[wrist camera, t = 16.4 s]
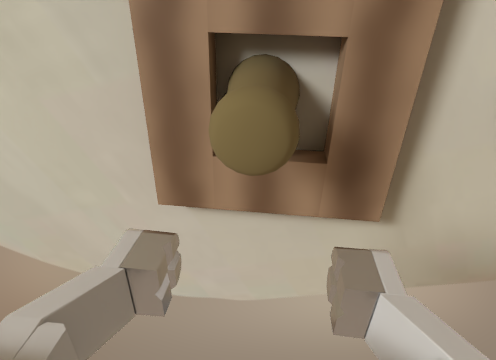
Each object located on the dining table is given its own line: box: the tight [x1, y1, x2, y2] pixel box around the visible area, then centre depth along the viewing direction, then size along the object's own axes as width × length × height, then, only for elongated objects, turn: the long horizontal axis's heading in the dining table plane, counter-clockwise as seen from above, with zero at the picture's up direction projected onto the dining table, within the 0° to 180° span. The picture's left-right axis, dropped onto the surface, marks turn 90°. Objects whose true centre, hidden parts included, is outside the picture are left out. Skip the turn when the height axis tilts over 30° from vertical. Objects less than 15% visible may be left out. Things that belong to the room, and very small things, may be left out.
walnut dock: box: [129, 0, 443, 222], centre depth 25 cm, size 20×20×3 cm
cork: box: [208, 54, 300, 176], centre depth 21 cm, size 6×6×11 cm
